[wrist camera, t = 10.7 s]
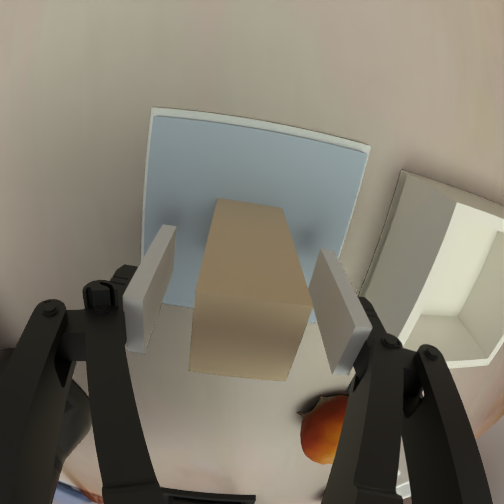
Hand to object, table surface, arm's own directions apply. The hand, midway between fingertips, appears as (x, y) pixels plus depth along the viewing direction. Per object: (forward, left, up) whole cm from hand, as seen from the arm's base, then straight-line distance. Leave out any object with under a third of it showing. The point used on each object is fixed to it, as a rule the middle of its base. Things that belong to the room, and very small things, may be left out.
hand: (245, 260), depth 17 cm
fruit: (+13, -20, -5) cm, 24 cm away
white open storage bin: (+16, 0, -5) cm, 17 cm away
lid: (0, 0, -5) cm, 5 cm away
